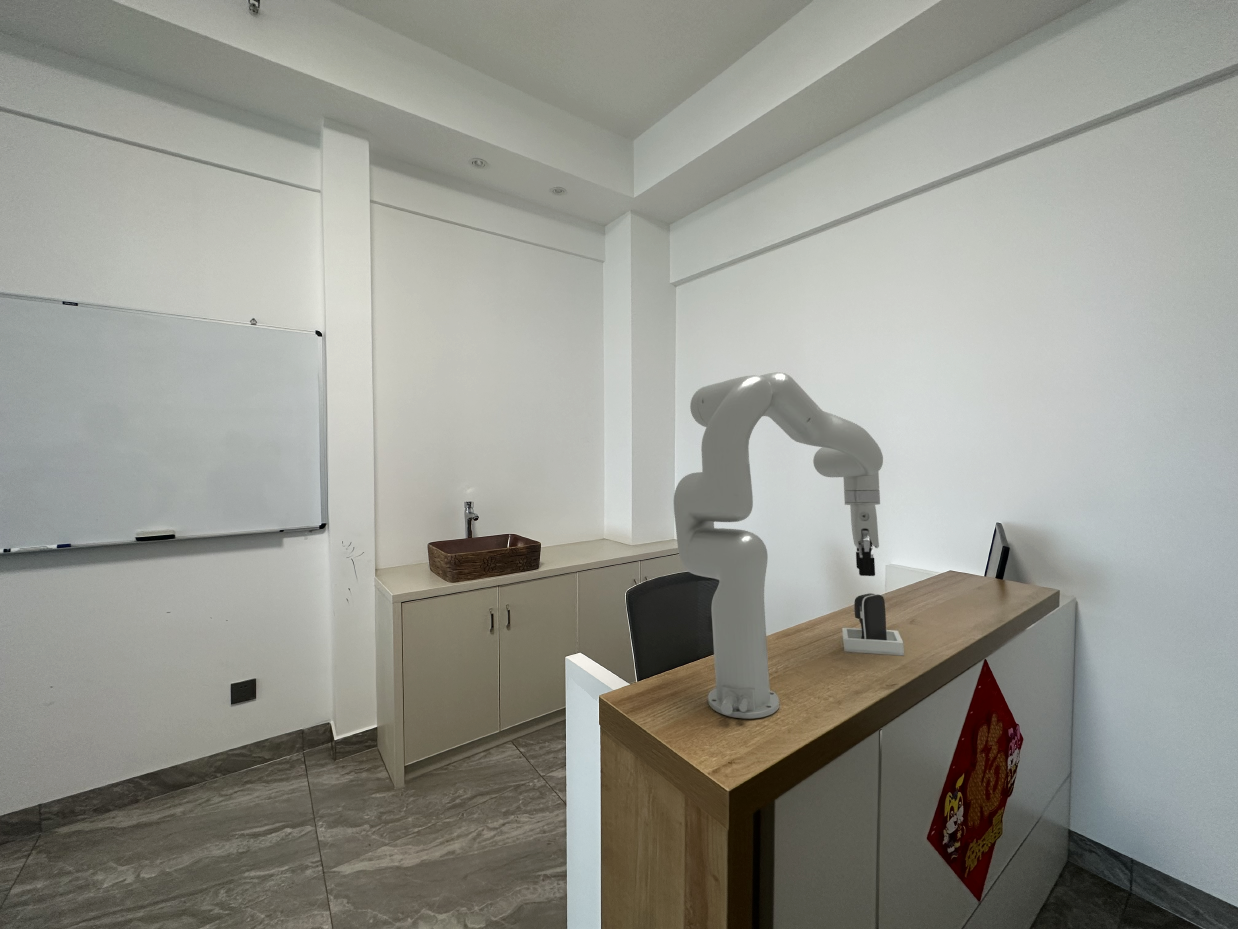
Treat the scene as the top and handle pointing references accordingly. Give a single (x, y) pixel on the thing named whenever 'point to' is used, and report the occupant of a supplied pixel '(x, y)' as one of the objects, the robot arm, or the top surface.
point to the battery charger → (871, 616)
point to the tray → (872, 643)
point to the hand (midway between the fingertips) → (865, 572)
